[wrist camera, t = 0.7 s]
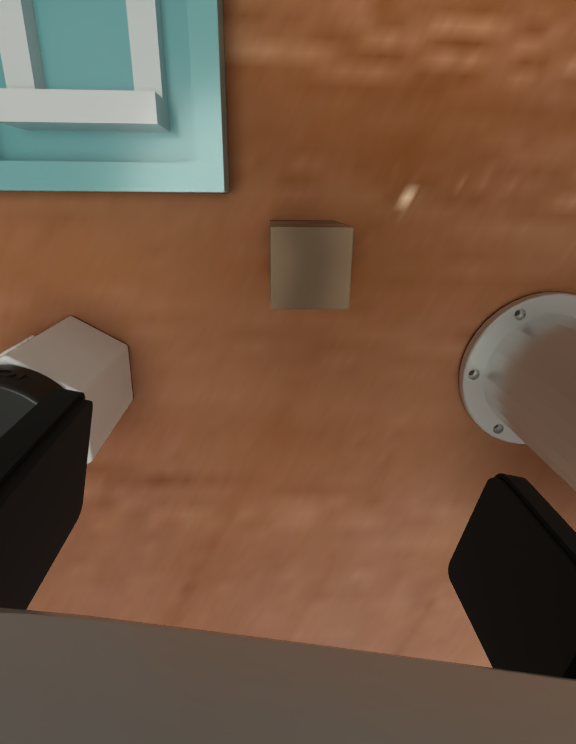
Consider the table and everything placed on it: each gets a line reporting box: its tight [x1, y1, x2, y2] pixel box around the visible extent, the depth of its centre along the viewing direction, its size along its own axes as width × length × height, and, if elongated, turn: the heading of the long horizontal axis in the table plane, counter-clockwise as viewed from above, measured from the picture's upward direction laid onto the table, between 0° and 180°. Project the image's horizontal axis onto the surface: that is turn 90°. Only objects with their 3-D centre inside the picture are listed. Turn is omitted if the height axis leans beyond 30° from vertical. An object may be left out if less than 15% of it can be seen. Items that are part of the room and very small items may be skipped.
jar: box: [0, 316, 133, 464], centre depth 30 cm, size 9×8×12 cm
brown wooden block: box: [270, 220, 354, 309], centre depth 29 cm, size 4×4×8 cm
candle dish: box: [0, 0, 230, 193], centre depth 26 cm, size 16×16×4 cm
